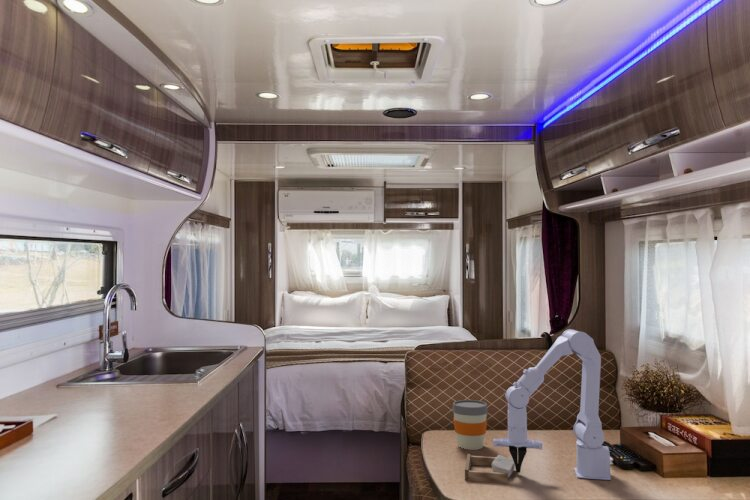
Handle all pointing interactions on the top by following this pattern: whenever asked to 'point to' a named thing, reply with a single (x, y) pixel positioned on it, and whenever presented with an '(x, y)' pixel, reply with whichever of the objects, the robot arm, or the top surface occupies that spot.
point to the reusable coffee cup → (470, 423)
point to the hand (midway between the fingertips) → (518, 471)
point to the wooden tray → (481, 474)
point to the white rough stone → (503, 465)
